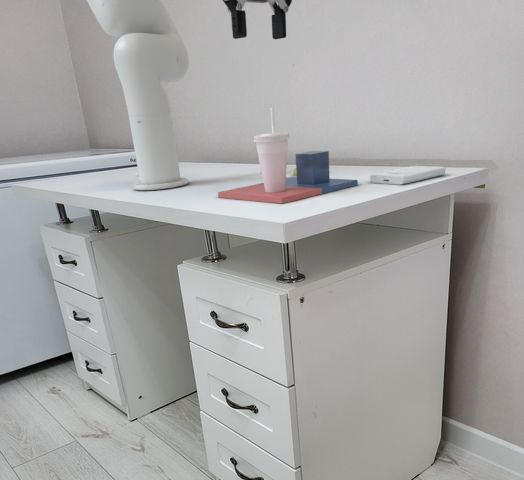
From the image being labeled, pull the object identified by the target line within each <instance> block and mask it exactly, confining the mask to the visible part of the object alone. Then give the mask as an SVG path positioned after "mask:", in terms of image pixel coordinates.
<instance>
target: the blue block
mask: <svg viewBox="0 0 524 480" xmlns="http://www.w3.org/2000/svg"><path fill="white" fill-rule="evenodd" d="M295 169H296V171H297V176H296V177H297V184H311V185H314V184H319V183H323V182H328V181H330V179H331V177H330V152H329V150H319V151H318V150H311V151H306V152H305V151H304V152H300V153H299V152H298V153H295Z"/></svg>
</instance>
